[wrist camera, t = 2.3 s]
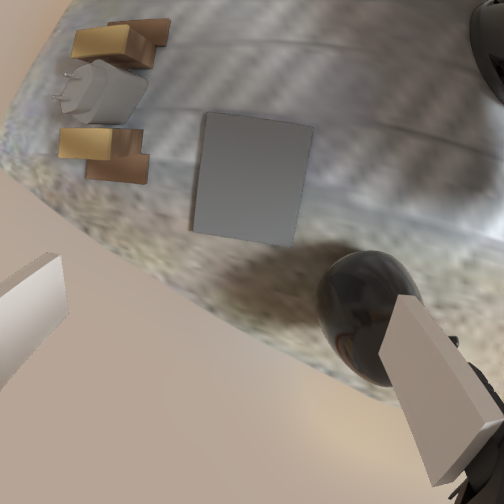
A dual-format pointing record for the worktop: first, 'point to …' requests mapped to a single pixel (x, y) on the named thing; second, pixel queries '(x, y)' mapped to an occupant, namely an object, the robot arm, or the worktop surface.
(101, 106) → the power adapter
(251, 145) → the mat
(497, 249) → the worktop surface
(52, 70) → the worktop surface
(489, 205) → the worktop surface
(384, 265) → the pump dispenser
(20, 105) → the worktop surface
